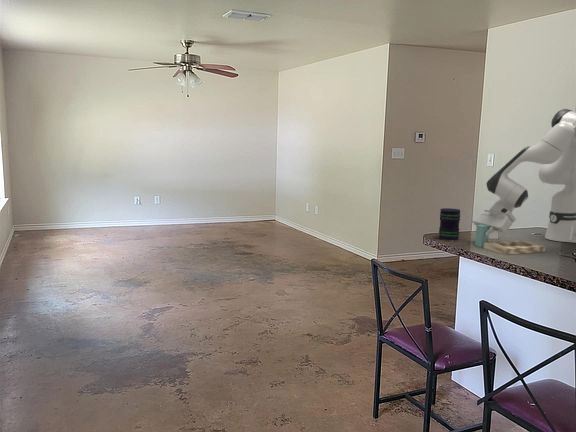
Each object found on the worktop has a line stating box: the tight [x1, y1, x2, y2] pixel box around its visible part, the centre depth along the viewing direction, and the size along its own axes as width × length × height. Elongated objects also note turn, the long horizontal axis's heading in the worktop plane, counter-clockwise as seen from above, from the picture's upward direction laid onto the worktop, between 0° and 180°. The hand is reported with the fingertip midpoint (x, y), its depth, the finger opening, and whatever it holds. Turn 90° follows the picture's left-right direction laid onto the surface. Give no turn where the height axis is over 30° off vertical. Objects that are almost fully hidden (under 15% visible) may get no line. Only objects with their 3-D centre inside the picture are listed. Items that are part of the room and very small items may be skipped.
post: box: [474, 225, 489, 248], centre depth 235 cm, size 4×4×10 cm
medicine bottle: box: [488, 231, 500, 240], centre depth 255 cm, size 7×7×12 cm
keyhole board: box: [483, 239, 546, 256], centre depth 228 cm, size 22×14×2 cm, turn 108°
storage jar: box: [438, 207, 461, 241], centre depth 252 cm, size 10×10×15 cm
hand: (481, 234), depth 234 cm, fingers closed on post, 4 cm apart
